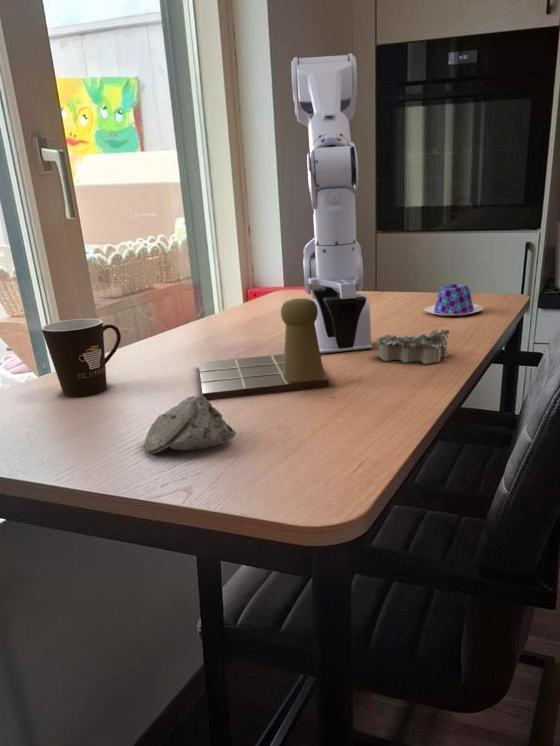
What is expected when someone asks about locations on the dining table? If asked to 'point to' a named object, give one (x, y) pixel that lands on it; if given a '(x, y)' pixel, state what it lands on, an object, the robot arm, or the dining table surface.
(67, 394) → the coffee mug
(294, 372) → the olive pawn
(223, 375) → the board
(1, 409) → the dining table surface
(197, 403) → the fossilized seashell
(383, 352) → the egg carton
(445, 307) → the pudding
